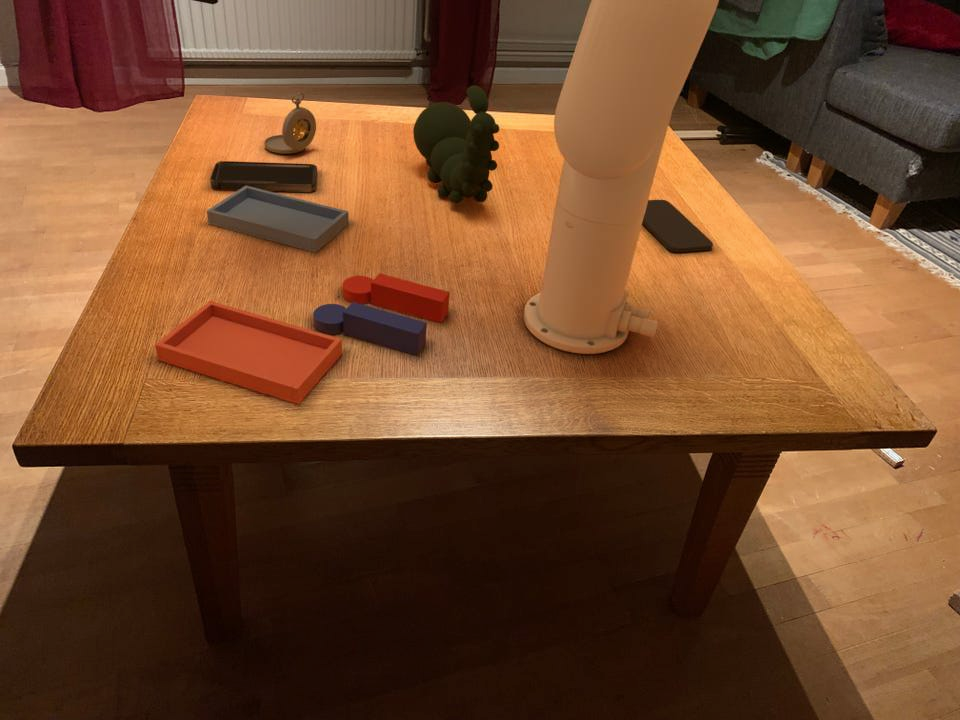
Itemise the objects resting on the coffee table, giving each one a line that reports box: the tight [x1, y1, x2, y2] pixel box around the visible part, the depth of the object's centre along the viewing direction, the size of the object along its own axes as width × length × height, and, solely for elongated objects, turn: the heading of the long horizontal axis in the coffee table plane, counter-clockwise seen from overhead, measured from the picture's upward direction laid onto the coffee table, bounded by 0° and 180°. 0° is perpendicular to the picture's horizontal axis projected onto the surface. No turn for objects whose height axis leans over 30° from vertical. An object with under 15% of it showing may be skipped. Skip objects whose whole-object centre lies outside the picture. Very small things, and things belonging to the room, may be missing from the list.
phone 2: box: [642, 199, 714, 253], centre depth 111 cm, size 7×1×15 cm
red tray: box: [154, 300, 343, 405], centre depth 77 cm, size 16×9×2 cm, turn 71°
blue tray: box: [206, 186, 350, 254], centre depth 100 cm, size 16×9×2 cm, turn 71°
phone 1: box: [209, 160, 318, 193], centre depth 111 cm, size 8×1×15 cm
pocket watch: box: [263, 92, 317, 155], centre depth 118 cm, size 8×8×10 cm
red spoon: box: [342, 273, 451, 324], centre depth 87 cm, size 13×4×3 cm, turn 71°
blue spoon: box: [312, 302, 428, 356], centre depth 82 cm, size 13×4×3 cm, turn 71°
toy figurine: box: [412, 85, 500, 205], centre depth 111 cm, size 9×19×25 cm
